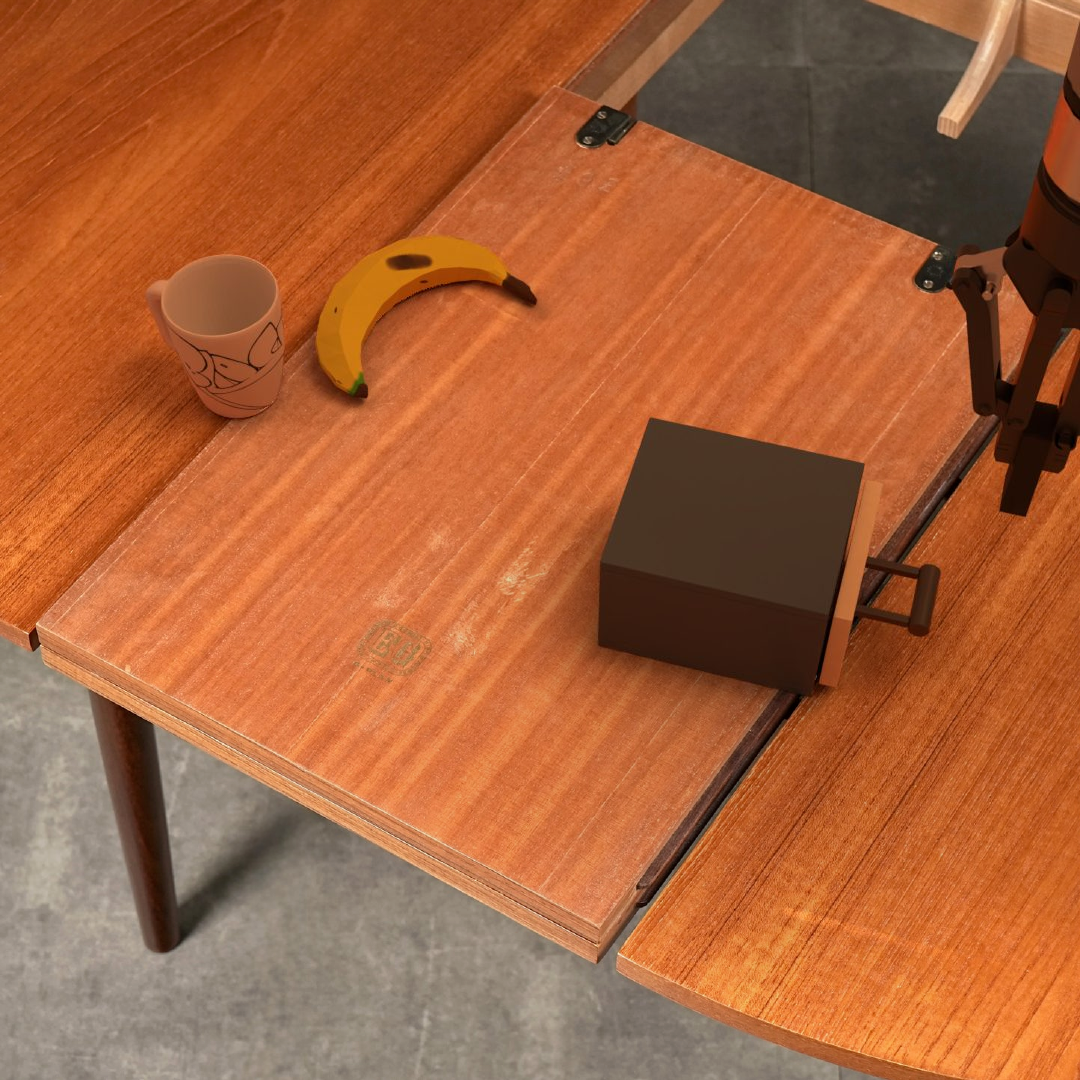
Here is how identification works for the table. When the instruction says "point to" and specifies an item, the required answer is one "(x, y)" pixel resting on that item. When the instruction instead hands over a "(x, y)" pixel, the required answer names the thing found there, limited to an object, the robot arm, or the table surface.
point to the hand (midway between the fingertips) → (1015, 495)
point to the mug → (224, 331)
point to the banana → (396, 295)
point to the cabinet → (727, 555)
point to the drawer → (852, 582)
